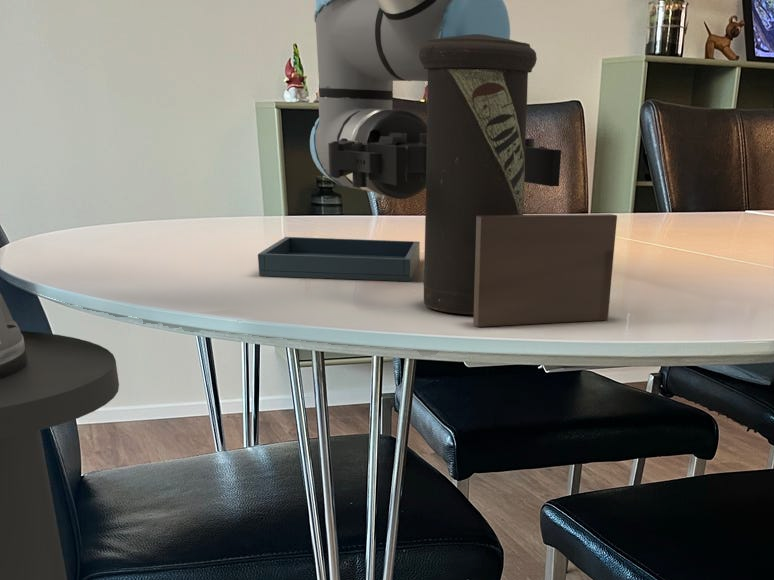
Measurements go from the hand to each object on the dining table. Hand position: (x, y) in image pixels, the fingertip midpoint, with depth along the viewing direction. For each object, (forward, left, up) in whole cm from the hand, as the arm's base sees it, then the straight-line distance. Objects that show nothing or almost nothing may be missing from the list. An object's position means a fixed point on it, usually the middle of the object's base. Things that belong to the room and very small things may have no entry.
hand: (481, 167), depth 79 cm
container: (-1, +1, -11) cm, 11 cm away
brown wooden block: (+1, +3, -11) cm, 11 cm away
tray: (-22, +14, -11) cm, 28 cm away
